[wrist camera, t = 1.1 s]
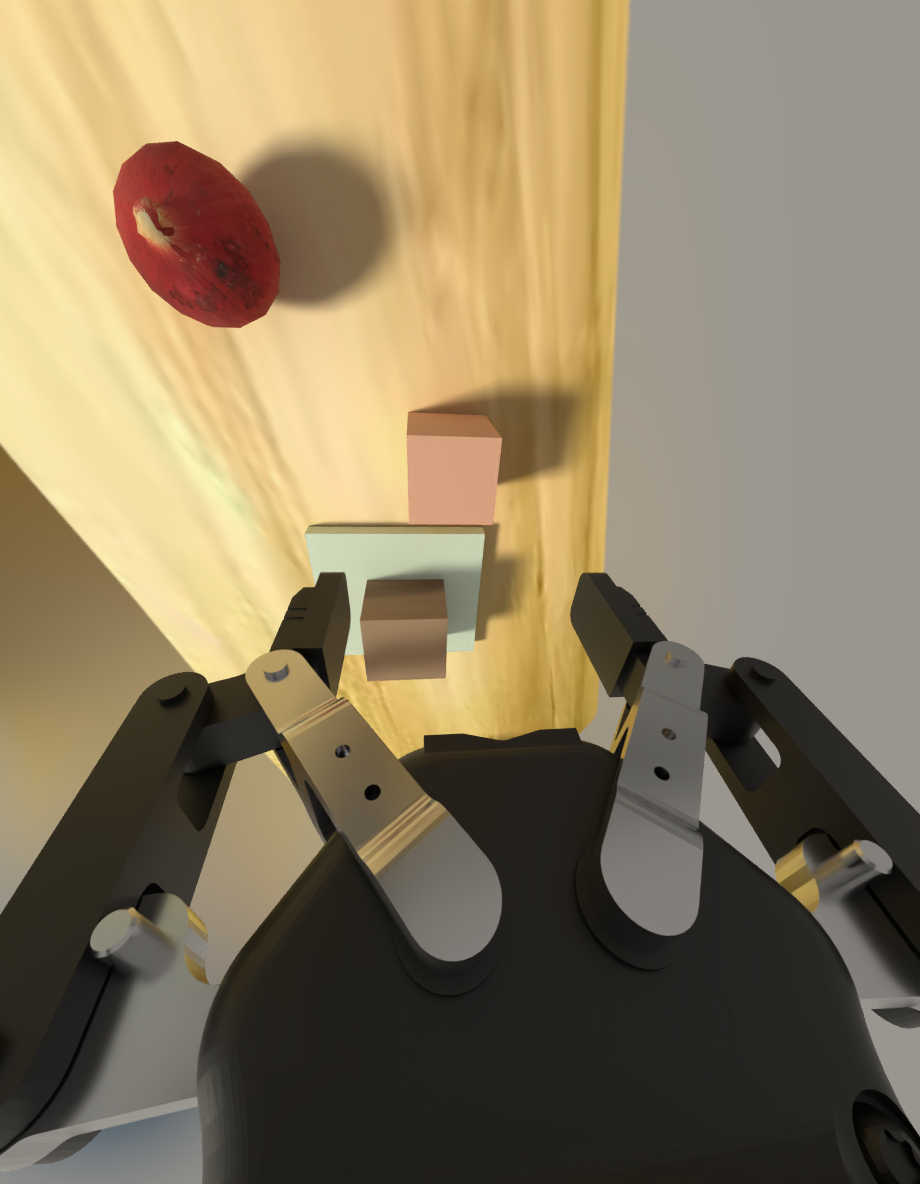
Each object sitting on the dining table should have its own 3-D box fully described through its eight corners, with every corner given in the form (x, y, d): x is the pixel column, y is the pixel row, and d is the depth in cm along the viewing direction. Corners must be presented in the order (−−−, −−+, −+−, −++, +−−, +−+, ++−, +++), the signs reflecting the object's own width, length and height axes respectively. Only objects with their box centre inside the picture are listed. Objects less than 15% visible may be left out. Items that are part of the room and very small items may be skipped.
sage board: (308, 526, 28) (304, 533, 27) (482, 527, 30) (484, 534, 29) (331, 646, 35) (329, 655, 34) (471, 642, 37) (473, 650, 36)
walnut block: (367, 579, 30) (359, 620, 26) (443, 579, 31) (448, 618, 27) (373, 637, 34) (367, 681, 30) (441, 635, 34) (445, 678, 30)
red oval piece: (318, 254, 20) (272, 224, 13) (264, 351, 22) (202, 365, 16) (201, 137, 17) (74, 28, 11) (153, 260, 19) (23, 232, 13)
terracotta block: (408, 412, 25) (406, 435, 20) (485, 414, 25) (502, 438, 20) (409, 487, 28) (409, 524, 23) (479, 488, 28) (492, 524, 23)
